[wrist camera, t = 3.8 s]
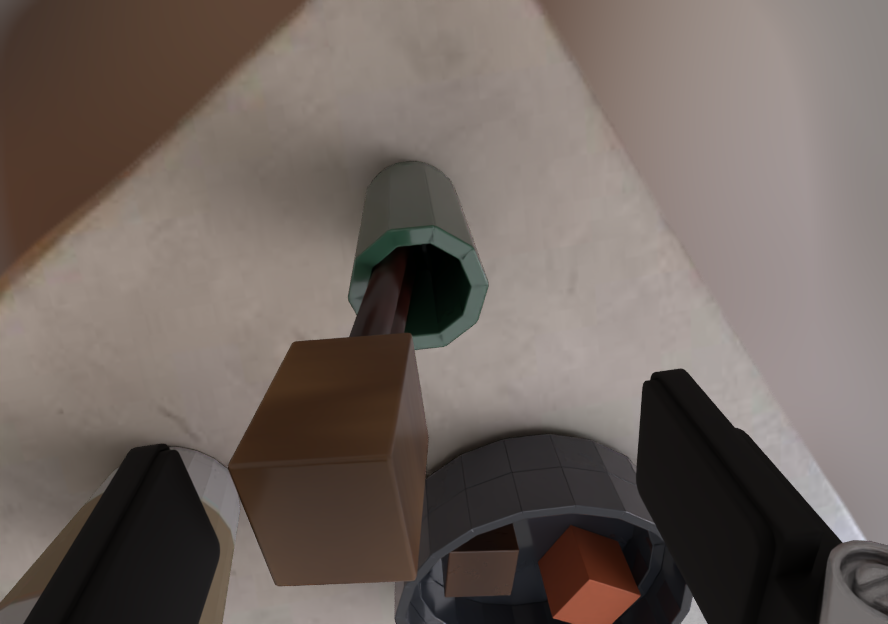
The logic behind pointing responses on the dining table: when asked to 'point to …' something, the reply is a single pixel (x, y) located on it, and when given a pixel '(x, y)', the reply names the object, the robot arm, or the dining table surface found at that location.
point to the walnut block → (482, 565)
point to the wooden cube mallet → (342, 448)
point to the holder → (422, 251)
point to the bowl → (537, 529)
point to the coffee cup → (206, 473)
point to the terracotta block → (587, 578)
